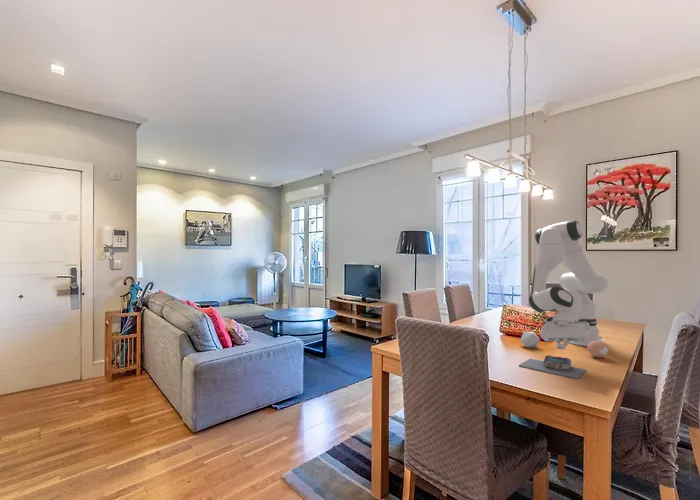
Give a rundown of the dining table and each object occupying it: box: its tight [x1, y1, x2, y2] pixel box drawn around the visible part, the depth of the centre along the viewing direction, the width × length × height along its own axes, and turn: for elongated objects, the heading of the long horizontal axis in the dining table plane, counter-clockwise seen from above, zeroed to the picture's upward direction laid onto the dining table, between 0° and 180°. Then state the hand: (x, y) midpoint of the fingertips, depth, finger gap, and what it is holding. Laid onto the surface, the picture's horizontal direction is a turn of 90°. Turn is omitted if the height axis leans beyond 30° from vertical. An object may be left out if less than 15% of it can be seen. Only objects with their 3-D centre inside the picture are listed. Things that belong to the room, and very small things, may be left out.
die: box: [519, 331, 541, 349], centre depth 181 cm, size 8×9×10 cm
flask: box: [543, 355, 572, 370], centre depth 147 cm, size 10×3×12 cm
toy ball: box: [587, 340, 608, 359], centre depth 162 cm, size 8×8×8 cm
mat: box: [518, 358, 587, 380], centre depth 146 cm, size 14×22×1 cm, turn 43°
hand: (560, 348), depth 152 cm, fingers closed
